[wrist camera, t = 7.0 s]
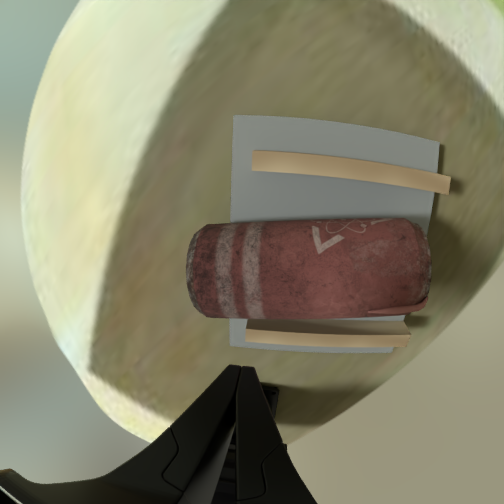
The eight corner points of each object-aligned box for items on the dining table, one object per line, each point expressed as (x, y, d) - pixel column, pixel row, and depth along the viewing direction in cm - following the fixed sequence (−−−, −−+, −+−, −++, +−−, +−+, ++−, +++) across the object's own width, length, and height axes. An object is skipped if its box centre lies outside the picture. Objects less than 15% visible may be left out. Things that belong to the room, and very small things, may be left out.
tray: (388, 345, 23) (397, 366, 20) (231, 338, 24) (225, 361, 22) (433, 142, 17) (453, 143, 14) (236, 116, 18) (228, 111, 15)
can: (174, 296, 15) (445, 291, 12) (197, 205, 18) (418, 198, 15) (209, 333, 19) (410, 331, 17) (222, 257, 23) (398, 252, 20)
